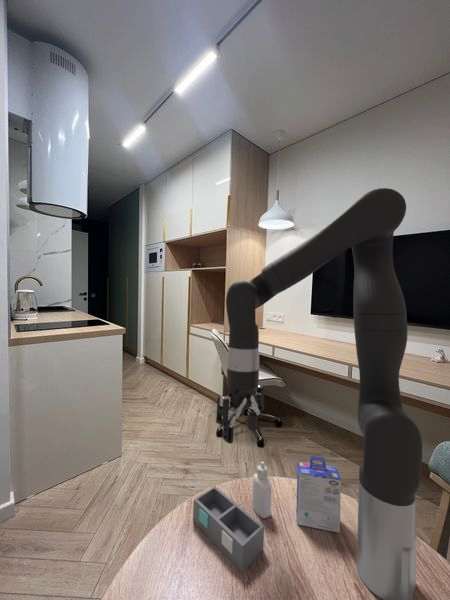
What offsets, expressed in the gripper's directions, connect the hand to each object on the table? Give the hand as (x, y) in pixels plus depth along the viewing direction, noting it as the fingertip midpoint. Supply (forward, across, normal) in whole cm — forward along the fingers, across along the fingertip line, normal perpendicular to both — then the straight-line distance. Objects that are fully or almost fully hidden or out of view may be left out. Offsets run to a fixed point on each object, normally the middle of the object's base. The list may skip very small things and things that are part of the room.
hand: (241, 435), depth 59 cm
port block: (+21, -3, +1) cm, 22 cm away
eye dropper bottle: (+22, +8, 0) cm, 23 cm away
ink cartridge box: (+22, +16, -12) cm, 29 cm away
